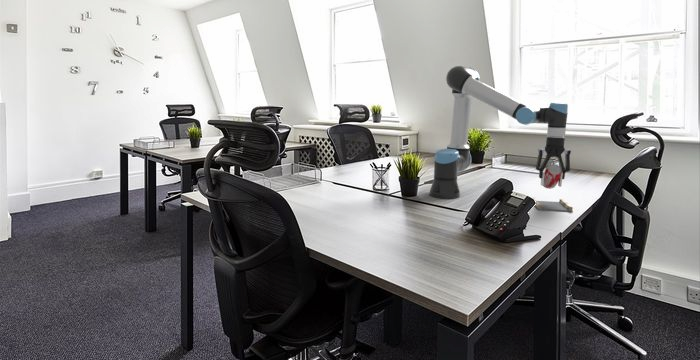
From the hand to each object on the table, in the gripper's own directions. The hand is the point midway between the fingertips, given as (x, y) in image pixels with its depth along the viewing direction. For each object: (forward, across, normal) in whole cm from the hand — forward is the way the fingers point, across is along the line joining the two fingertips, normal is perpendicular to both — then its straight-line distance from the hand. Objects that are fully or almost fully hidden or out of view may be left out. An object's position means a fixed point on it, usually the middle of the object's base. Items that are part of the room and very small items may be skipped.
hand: (550, 185), depth 197 cm
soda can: (0, 0, -5) cm, 5 cm away
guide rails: (+9, 0, +4) cm, 10 cm away
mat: (+9, 0, +4) cm, 10 cm away
